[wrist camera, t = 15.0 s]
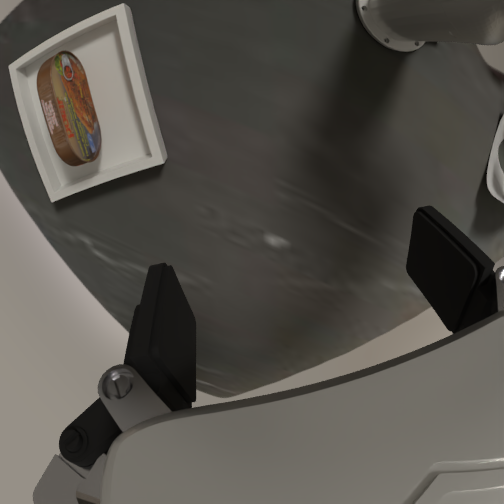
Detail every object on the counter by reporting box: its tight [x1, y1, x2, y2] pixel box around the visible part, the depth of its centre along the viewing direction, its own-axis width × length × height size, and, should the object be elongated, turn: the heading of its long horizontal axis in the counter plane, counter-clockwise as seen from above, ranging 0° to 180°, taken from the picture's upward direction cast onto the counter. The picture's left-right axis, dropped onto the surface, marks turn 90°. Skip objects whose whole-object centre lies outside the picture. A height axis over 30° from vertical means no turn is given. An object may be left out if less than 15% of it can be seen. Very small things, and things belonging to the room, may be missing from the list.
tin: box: [37, 50, 102, 166], centre depth 26 cm, size 15×3×8 cm, turn 10°
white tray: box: [9, 3, 168, 202], centre depth 29 cm, size 18×22×3 cm
